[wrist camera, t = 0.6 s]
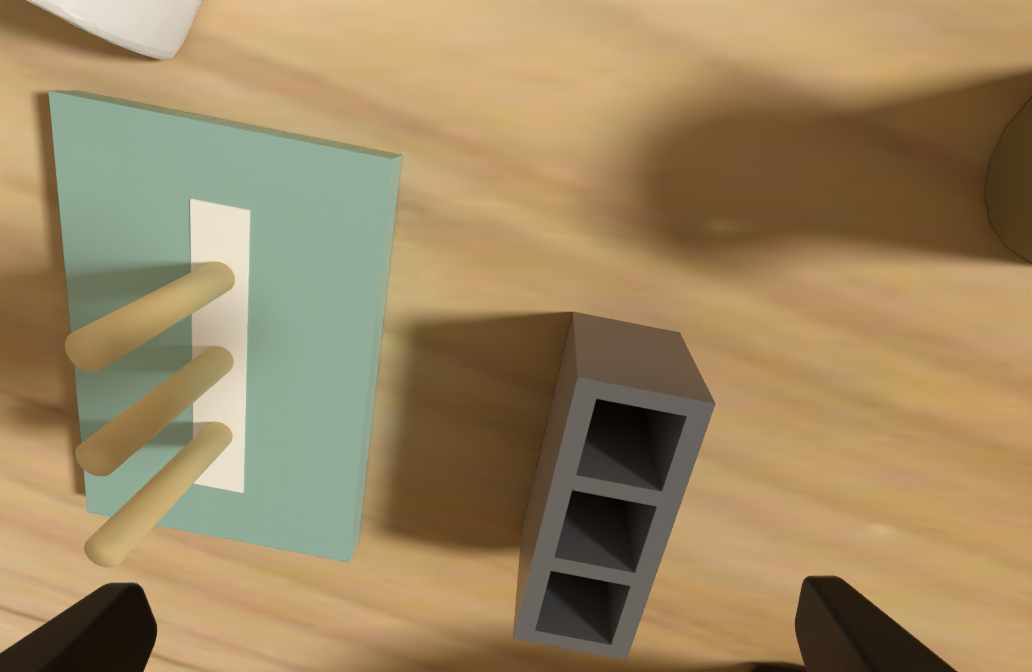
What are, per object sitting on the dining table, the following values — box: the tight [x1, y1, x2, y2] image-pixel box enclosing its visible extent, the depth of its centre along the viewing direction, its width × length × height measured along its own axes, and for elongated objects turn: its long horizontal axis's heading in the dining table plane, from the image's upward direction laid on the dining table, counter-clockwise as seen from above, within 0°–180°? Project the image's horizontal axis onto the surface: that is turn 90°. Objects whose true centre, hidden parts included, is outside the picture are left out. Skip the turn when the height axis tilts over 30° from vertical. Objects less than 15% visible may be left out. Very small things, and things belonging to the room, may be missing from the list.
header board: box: [49, 91, 402, 567], centre depth 18 cm, size 15×10×7 cm, turn 169°
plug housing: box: [513, 312, 715, 660], centre depth 20 cm, size 9×4×5 cm, turn 169°
